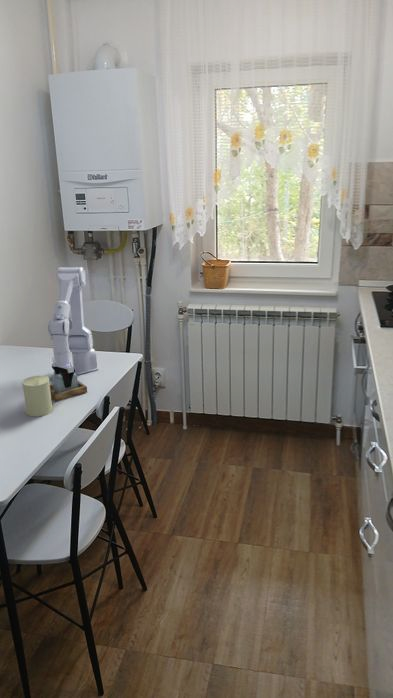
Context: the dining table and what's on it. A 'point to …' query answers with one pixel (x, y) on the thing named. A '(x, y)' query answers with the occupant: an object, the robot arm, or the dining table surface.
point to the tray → (68, 392)
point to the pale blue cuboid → (59, 383)
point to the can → (37, 395)
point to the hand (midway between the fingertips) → (65, 384)
